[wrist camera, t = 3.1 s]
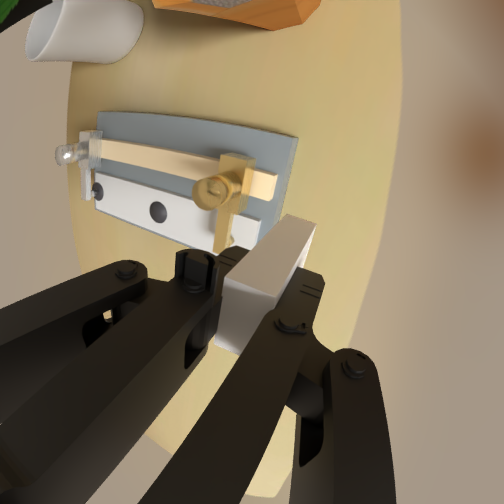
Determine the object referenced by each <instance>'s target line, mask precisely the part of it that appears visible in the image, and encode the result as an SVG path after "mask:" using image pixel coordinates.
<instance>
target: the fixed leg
mask: <svg viewBox="0 0 504 504" xmlns="http://www.w3.org/2000/svg"><path fill="white" fill-rule="evenodd" d="M102 135H103V131H100V130H87V131H80V134H79V142H77V143H72V144H67V145H62V146H58V147H57V148H56V151H55V159H56V162H57V164H58V165H59V166H61V165H65V164H69V163H73V162H77V161H79V163H78V167H79V168H81V199H83V200H85V201H87V200H90V199H91V197H94V196H97V195H98V190H97V189H94V190H91V169H94V168H98V167H101V150H102Z"/></svg>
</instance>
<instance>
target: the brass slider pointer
mask: <svg viewBox="0 0 504 504" xmlns="http://www.w3.org/2000/svg"><path fill="white" fill-rule="evenodd" d="M255 163H256V158H253V157H249V156H244V155H240V154H236V153H227V154H221V156H220V162H219V168H218V174H215V175H212V176H209V177H206V178H203V179H200V180H198V181H197V182H196V183H195V184H194V186H193V188H192V198H193V201H194V203H195V204H196V205H197V206H198V207H199V208H200V209H202V210H205V211H211V210H213V209H215V208H216V209H218V216H217V222H216V229H215V236H214V243H213V250H212V252H214V253H217V254H220V253H221V252H222V251H223V250H225V249H226V248H229V247H230V246H231V245H232V244H233V243H234V238H233V237H232V236H230V235H231V229H232V223H233V217H234V214H235V215H238V214H239V213H241V212H242V211H244V210H245V209H247V204H248V199H249V194H250V188H251V183H252V178H253V173H254V168H255Z"/></svg>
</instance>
